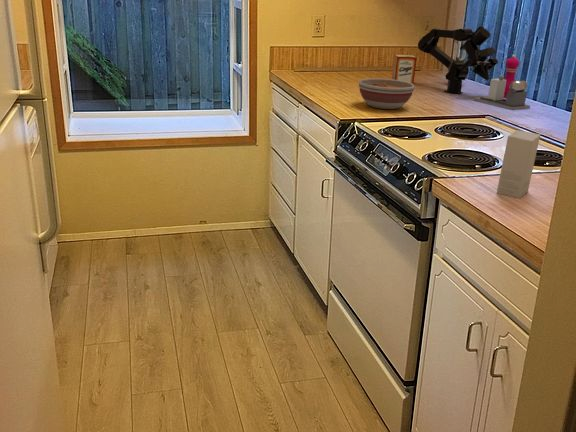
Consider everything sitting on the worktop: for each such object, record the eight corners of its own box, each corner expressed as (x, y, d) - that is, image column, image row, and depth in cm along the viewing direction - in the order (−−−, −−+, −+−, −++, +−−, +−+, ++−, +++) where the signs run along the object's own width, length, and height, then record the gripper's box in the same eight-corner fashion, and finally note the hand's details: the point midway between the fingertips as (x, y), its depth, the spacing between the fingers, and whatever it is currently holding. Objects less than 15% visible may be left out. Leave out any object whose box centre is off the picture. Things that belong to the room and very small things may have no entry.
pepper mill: (515, 99, 295) (523, 56, 287) (499, 97, 296) (507, 54, 288) (513, 96, 301) (521, 54, 294) (497, 95, 302) (505, 53, 295)
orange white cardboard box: (393, 89, 303) (397, 55, 297) (391, 86, 309) (394, 53, 303) (412, 90, 303) (416, 56, 298) (409, 87, 310) (413, 54, 304)
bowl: (377, 114, 246) (380, 88, 242) (346, 102, 264) (348, 79, 261) (422, 111, 256) (426, 86, 252) (389, 100, 275) (392, 77, 271)
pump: (487, 98, 282) (491, 74, 278) (495, 98, 285) (500, 74, 281) (494, 100, 279) (499, 76, 275) (503, 99, 282) (507, 75, 278)
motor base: (473, 100, 285) (477, 74, 281) (490, 98, 291) (495, 73, 287) (511, 110, 268) (516, 83, 264) (529, 108, 274) (534, 81, 270)
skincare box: (505, 185, 167) (515, 129, 162) (530, 191, 164) (542, 134, 158) (495, 193, 161) (506, 134, 155) (521, 199, 157) (533, 139, 152)
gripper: (470, 40, 277) (485, 69, 273) (498, 40, 287) (513, 68, 282) (454, 56, 286) (469, 84, 282) (482, 55, 296) (496, 82, 291)
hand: (487, 79), depth 284 cm, fingers closed
